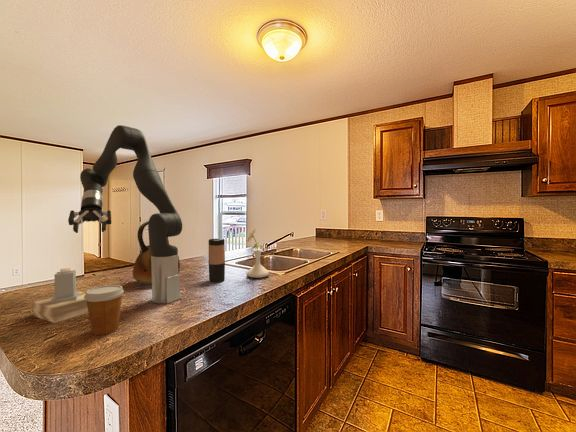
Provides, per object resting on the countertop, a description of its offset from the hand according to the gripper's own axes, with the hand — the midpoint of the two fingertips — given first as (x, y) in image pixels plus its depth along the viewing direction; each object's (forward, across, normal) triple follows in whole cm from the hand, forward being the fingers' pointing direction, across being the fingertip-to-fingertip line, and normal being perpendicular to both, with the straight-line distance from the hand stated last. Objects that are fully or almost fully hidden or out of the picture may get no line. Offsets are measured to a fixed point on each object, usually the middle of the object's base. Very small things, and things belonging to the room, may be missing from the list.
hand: (89, 231), depth 109 cm
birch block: (+31, -5, +7) cm, 32 cm away
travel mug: (+21, +50, +16) cm, 56 cm away
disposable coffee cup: (+47, +7, -10) cm, 48 cm away
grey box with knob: (+27, -5, +3) cm, 28 cm away
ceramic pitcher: (+13, +25, +24) cm, 37 cm away
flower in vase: (+24, +69, +13) cm, 74 cm away
